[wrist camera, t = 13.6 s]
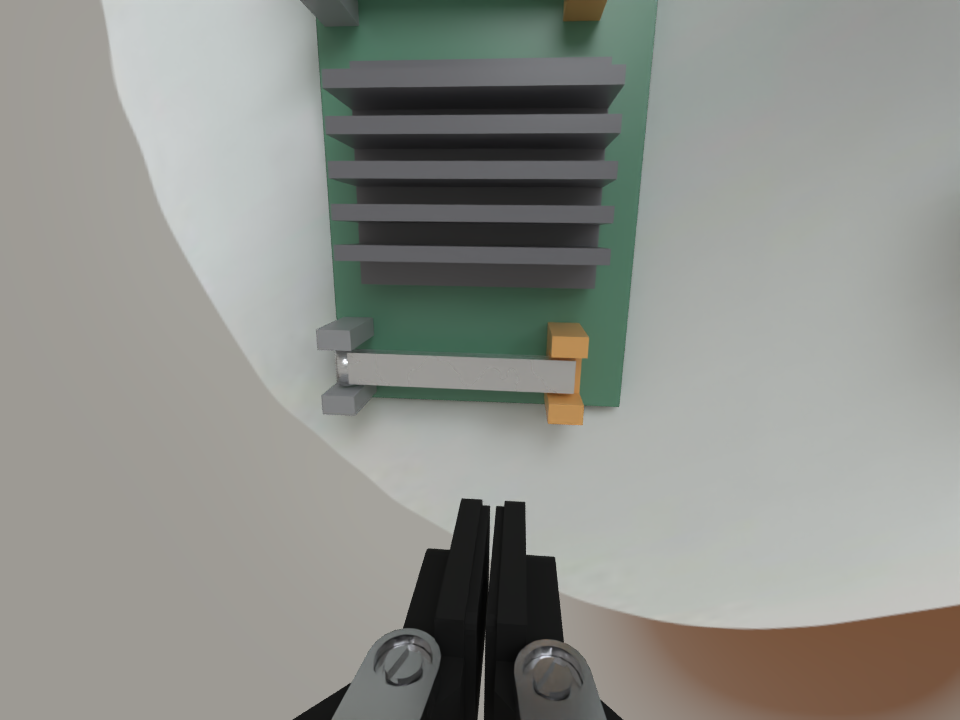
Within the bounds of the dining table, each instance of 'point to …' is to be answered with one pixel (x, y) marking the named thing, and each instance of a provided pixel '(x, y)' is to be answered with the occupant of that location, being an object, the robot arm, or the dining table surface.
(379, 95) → the cooler board
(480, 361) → the strap
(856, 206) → the dining table surface
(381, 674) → the robot arm
